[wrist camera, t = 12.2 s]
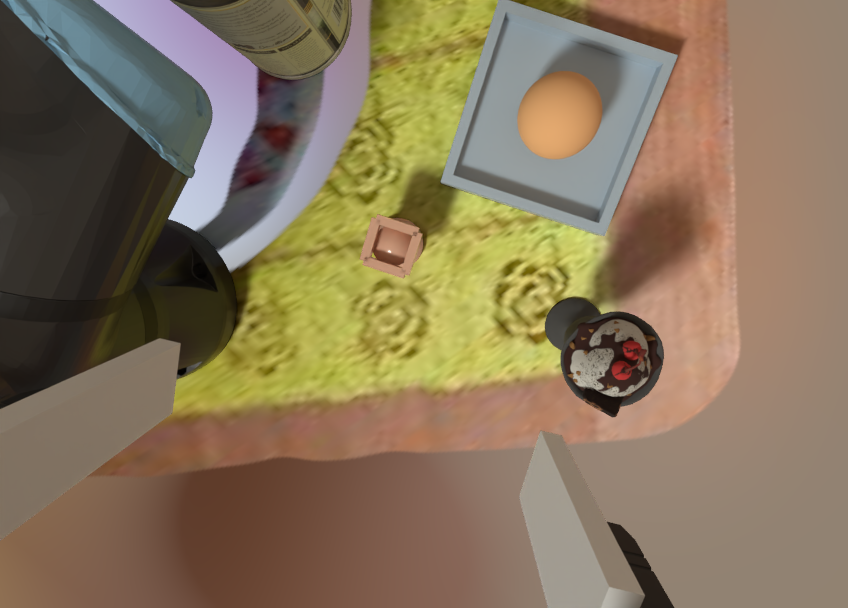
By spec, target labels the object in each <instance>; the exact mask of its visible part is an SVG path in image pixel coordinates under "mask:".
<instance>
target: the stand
mask: <svg viewBox="0 0 848 608" xmlns="http://www.w3.org/2000/svg"><path fill="white" fill-rule="evenodd" d="M422 236H423V233H421V232H420V228H419V227H417V226H416V225H415V224H414V223H412V222H411V221H409V220H406V219H403V218H393V219H392V218H389V217H386V216H382V215H379V214H377V218H374V217H372V219H371V222H370V225H369V229H368V232H367V236H366V239H365V243H364V246H363V249H362V253H361V256H360V260H363V261H364V262H363V265H365V266H368V267H371V268H374V269H377V270H380V271H383V272H386V273H389V274H392V275H395V276H398V277H401V278H404V277H405V274H406V275H410V273H411V270H412V267H413V264H414V263H415V262H416V261H417V260H418V258H419V257H420V255H421V253H422V250H423V237H422ZM372 253H374V255H375V257H376V258H377V259H376V258H373V257H371V256H372Z"/></svg>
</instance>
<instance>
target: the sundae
mask: <svg viewBox="0 0 848 608" xmlns="http://www.w3.org/2000/svg"><path fill="white" fill-rule="evenodd" d="M545 331H546V335H547V337H548V339H549V341H550V342H551V343H552V344H553V345H554V346H555V347H557V348H558V349H560V350H562V351H561V368H562V372H563V375H564V378H565V381H566V382H567V384H568V386H569V387H570V389H571V390H572V391H573V392H574V394H575V395H576V396H577V397H579V398H580V399H582V400H583V401H585V402H586V403H588V404H589V405H591V406H592V407H594V408H596V409H598V410H600V411H602V412H604V413H606V414H607V415H609V416H611V417H616V416H617V414H618V411H619V409H620V407H622V406H626V405H631V404H633V403H635V402H637V401H639V400H641V399H642V398H643V397H645V396H646V395H647V394H648V393H649V392H650V391H651V390H652V388H653V387H654V385H655V384H656V382H657V380H658V378H659V375H660V372H661V369H662V365H663V359H664V351H663V346H662V341H661V340H660V338H659V336H658V334H657V333H656V332H655V330H654V329H653V328H652V327H651V326H650V325H649V324H647V323H646V322H645V321H643V320H642V319H640V318H638V317H637V316H635V315H632V314H629V313H626V312H609V313H605V314H602V315H600V313H599V312H598V310H597V309H596V307H595V306H594V305H593V304H591V303H590V302H588V301H586V300H583V299H578V298H571V299H566V300H563V301H561V302H559V303H558V304H556V305H555V306H554V307H553V308H552V309H551V310H550V312H549V314H548V315H547V318H546V322H545Z"/></svg>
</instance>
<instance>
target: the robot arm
mask: <svg viewBox="0 0 848 608" xmlns="http://www.w3.org/2000/svg"><path fill="white" fill-rule="evenodd" d="M211 121H212V106H211V103H210V100H209V98H208V95H207V94H206V92H205V90H204V89H203V88H202V86H201V85H200V84H199V83H198V82H197V81H196V80H195V79H194V78H193V77H192V76H190V75H189V74H188V73H187V72H185V71H184V70H183V69H181V68H180V67H179V66H177V65H176V64H175V63H174V62H172V61H171V60H170V59H169V58H167V57H166V56H165V55H163V54H162V53H161V52H160V51H158V50H157V49H155V48H154V47H153V46H152V45H150V44H149V43H148V42H147V41H145V40H144V39H143V38H141V37H140V36H139V35H137V34H136V33H135V32H133V31H132V30H131V29H130V28H128V27H127V26H126V25H124V24H123V23H122V22H120V21H119V20H118V19H117V18H115V17H114V16H113V15H111V14H110V13H109V12H108V11H106V10H105V9H104V8H102V7H101V6H100V5H99V4H97V3H96V2H95V1H93V0H0V540H2V539H3V538H4V537H6V536H7V535H8V534H10V533H11V532H12V531H14V530H15V529H16V528H18V527H19V526H20V525H22V524H23V523H24V522H26V521H27V520H29V519H30V518H31V517H33V516H34V515H35V514H37V513H38V512H39V511H41V510H42V509H43V508H45V507H46V506H47V505H49V504H50V503H52V502H53V501H54V500H55V499H57V498H58V497H59V496H61V495H62V494H64V493H65V492H66V491H68V490H69V489H70V488H72V487H73V486H74V485H76V484H77V483H78V482H80V481H81V480H83V479H84V478H85V477H87V476H88V475H89V474H91V473H92V472H93V471H95V470H96V469H97V468H99V467H100V466H102V465H103V464H104V463H106V462H107V461H108V460H110V459H111V458H112V457H114V456H115V455H116V454H118V453H119V452H120V451H122V450H123V449H124V448H126V447H127V446H129V445H130V444H131V443H133V442H134V441H135V440H137V439H138V438H139V437H141V436H142V435H143V434H145V433H146V432H147V431H149V430H150V429H152V428H153V427H154V426H156V425H157V424H158V423H160V422H161V421H162V420H164V419H165V418H166V417H168V416H169V415H170V414H172V410H173V402H174V394H175V386H176V379H179V378H182V377H185V376H187V375H189V374H191V373H193V372H195V371H197V370H198V369H200V368H202V367H203V366H205V365H207V364H208V363H210V362H211V361H212V360H213V359H215V358H216V357H217V356H218V355H219V354H220V352H221V351H222V350H223V349H224V347H225V346H226V344H227V342H228V341H229V339H230V336H231V334H232V332H233V329H234V325H235V320H236V313H237V300H236V293H235V288H234V284H233V280H232V277H231V275H230V272H229V270H228V268H227V266H226V264H225V263H224V261H223V259H222V258H221V257H220V255H219V254H218V252H217V251H216V250H215V249H214V247H213V246H212V245H211V244H210V243H209V242H208V241H207V240H206V239H204V238H203V237H202V236H201V235H200V234H198V233H197V232H195V231H194V230H192V229H191V228H189V227H187V226H185V225H183V224H180V223H178V222H175V221H172V220H169V219H168V217H169V215H170V213H171V211H172V210H173V208H174V206H175V204H176V202H177V200H178V198H179V196H180V194H181V192H182V190H183V188H184V186H185V184H186V182H187V180H188V178H192V177H193V175H194V173H195V169H194V164H195V162H196V160H197V157H198V155H199V152H200V149H201V147H202V144H203V142H204V139H205V137H206V135H207V133H208V130H209V128H210V125H211ZM519 498H520V502H521V506H522V510H523V513H524V517H525V521H526V525H527V529H528V533H529V537H530V541H531V544H532V548H533V552H534V556H535V559H536V564H537V567H538V571H539V575H540V579H541V582H542V587H543V591H544V594H545V598H546V602H547V606H548V608H674V606H673V605H672V603H671V601H670V599H669V598H668V596H667V594H666V593H665V591H664V589H663V588H662V586H661V584H660V582H659V580H658V579H657V577H656V575H655V574H654V572H653V571H651V567H650V565H649V563H648V561H647V560H646V558H644V555H643V553H642V551H641V549H640V548H639V546H638V544H637V543H636V541H635V539H634V538H632V536H631V535H630V534H629V533H628V532H627V531H626V530H625V529H624V528H623V527H622V526H621V525H618V524H614V523H610V522H606V520H605V518H604V516H603V514H602V512H601V510H600V508H599V506H598V504H597V502H596V501H595V499H594V497H593V495H592V493H591V491H590V489H589V487H588V485H587V483H586V481H585V479H584V478H583V476H582V474H581V472H580V470H579V468H578V466H577V464H576V462H575V460H574V458H573V456H572V455H571V453H570V451H569V449H568V447H567V445H566V443H565V441H564V439H563V437H562V435H558V434H553V433H549V432H545V431H540V434H539V437H538V440H537V443H536V446H535V449H534V453H533V456H532V459H531V462H530V465H529V468H528V471H527V474H526V478H525V480H524V484H523V486H522V490H521V493H520V496H519Z"/></svg>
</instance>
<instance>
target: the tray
mask: <svg viewBox="0 0 848 608" xmlns="http://www.w3.org/2000/svg"><path fill="white" fill-rule="evenodd" d="M677 57H678V55H675V54H672V53H669V52H666V51H663V50H660V49H657V48H654V47H651V46H648V45H645V44H642V43H639V42H636V41H632V40H629V39H626V38H623V37H620V36H617V35H614V34H611V33H608V32H605V31H602V30H599V29H596V28H593V27H590V26H587V25H583V24H580V23H577V22H574V21H571V20H568V19H565V18H562V17H559V16H556V15H553V14H550V13H547V12H544V11H541V10H538V9H534V8H531V7H528V6H525V5H522V4H519V3H516V2H513V1H510V0H498V4H497V7H496V10H495V13H494V16H493V19H492V22H491V25H490V29H489V32H488V35H487V38H486V41H485V44H484V47H483V51H482V54H481V57H480V60H479V63H478V66H477V69H476V72H475V76H474V79H473V82H472V85H471V88H470V91H469V94H468V97H467V101H466V104H465V107H464V110H463V113H462V116H461V119H460V122H459V126H458V129H457V132H456V135H455V138H454V141H453V144H452V148H451V151H450V154H449V157H448V160H447V163H446V166H445V169H444V173H443V176H442V179H441V184H444V185H447V186H450V187H453V188H456V189H459V190H462V191H465V192H468V193H471V194H474V195H477V196H480V197H483V198H486V199H489V200H492V201H495V202H498V203H501V204H504V205H507V206H510V207H513V208H517V209H520V210H523V211H526V212H529V213H532V214H535V215H538V216H541V217H544V218H547V219H550V220H553V221H556V222H559V223H562V224H565V225H568V226H571V227H574V228H577V229H580V230H583V231H586V232H589V233H592V234H595V235H601V236H605V234H606V231H607V229H608V226H609V224H610V221H611V219H612V216H613V214H614V211H615V209H616V207H617V204H618V202H619V199H620V197H621V194H622V192H623V189H624V187H625V184H626V182H627V180H628V177H629V175H630V172H631V170H632V167H633V165H634V162H635V160H636V157H637V155H638V153H639V150H640V148H641V145H642V143H643V140H644V138H645V135H646V133H647V130H648V128H649V125H650V123H651V121H652V118H653V116H654V113H655V111H656V108H657V106H658V103H659V101H660V98H661V96H662V94H663V91H664V89H665V86H666V84H667V81H668V79H669V76H670V74H671V71H672V69H673V67H674V64H675V62H676V59H677ZM558 71H572V72H576V73H579V74H581V75H583V76H585V77H586V78H588V79H589V80H590V81H591V82H592V83H593V84H594V85H595V87H596V88H597V90H598V92H599V94H600V97H601V101H602V119H601V123H600V127H599V129H598V131H597V133H596V135H595V137H594V138H593V139H592V141H591V142H590V143H589V144H588V145H587V146H586V147H585V148H584V149H583V150H581V151H580V152H578V153H577V154H575V155H573V156H570V157H567V158H564V159H547V158H543V157H540V156H538V155H536V154H535V153H533V152H532V151H531V150H529V149H528V148H527V146H526V145H525V144H524V142H523V141H522V139H521V136H520V134H519V130H518V124H517V116H518V110H519V106H520V103H521V101H522V99H523V97H524V95H525V93H526V92H527V91H528V89H529V88H530V87H531V86H532V85H533V84H534V83H535V82H536V81H537V80H539V79H540V78H542V77H544V76H546V75H548V74H550V73H553V72H558Z"/></svg>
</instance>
